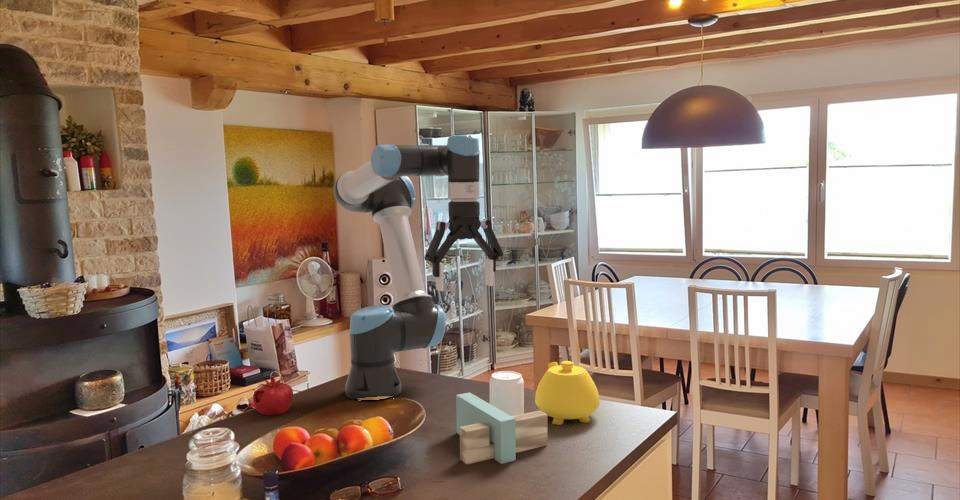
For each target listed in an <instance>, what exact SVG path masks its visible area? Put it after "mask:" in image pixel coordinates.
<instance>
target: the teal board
mask: <svg viewBox="0 0 960 500" xmlns="http://www.w3.org/2000/svg"><path fill="white" fill-rule="evenodd" d="M455 401H456V403H455V407H456V410H455V411H456V413H455V415H456V417H455V418H456V433H457V435H459V436H460V427H462V426H467V425H472V424H477V423H482V422H483V423H484V424H486V425H487V426H489V440H490V441H492V442H493V443H494V452H495V458H494V461H496V462H498V463H499V464H501V465H502V464H507V463H511V462H515V461H517V460H516V455H517V453H516V429H515V418H514V417H512V416H510V415H508V414H507V413H505V412H503V411H501V410H500V409H498V408H496V407H494V406H493V405H491V404H490V402H488V401H485V400H483V399H482V398H480V397H478V396H477V395H475V394H473V393H471V392H465V393H459V394H458V393H457V394H456V395H455Z"/></svg>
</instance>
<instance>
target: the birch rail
mask: <svg viewBox="0 0 960 500" xmlns="http://www.w3.org/2000/svg"><path fill="white" fill-rule="evenodd" d="M512 417H514V418H515V429H516V454H518V453H521V452H526V451H530V450H533V449H538V448H541V447H547V446H548V416H547V414H546V413H544V412H542V411H541V410H540V409H539V410H535V411H530V412H526V413H525V412H524V414H520V415H515V416H512ZM491 459H495V452H494V443H493V442H492V441H490V440H489V426H487V425H486V424H484V423H483V422H482V423H477V424H472V425H467V426H462V427H460V435H459V460H460V461H462V462H463V463H464V464H465V465H472V464H475V463H479V462H483V461H484V462H485V461H488V460H491Z"/></svg>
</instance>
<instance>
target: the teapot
mask: <svg viewBox="0 0 960 500" xmlns="http://www.w3.org/2000/svg"><path fill="white" fill-rule="evenodd" d="M574 363H575V362H574V361H571V360H563V361H560V364H559V363H558V362H557V361H552V362H549V363H548V364H547V366H548V367H547V368H548V369H547V370H546V372H545V373H544V375H543V376H542V377H541V379H540V381H539V383H538V385H537V388H536V392H535V397H534V403H535V405H536V407H537V408H538V409H539V410H540V411H542V412H544V413H546V414H547V417H551V418H553V419H552V422H551V423H552V424H553V425H555V424H556V425H557V426H562V425H563V424H564V423H565V420H578V422H581V423H585V424H586V423H590V422H591V418H589V417H590V416H591V415H593V414H594V413H595V411H597V409H599V406H600V395H599V391H598V388H597V386H596V383H595V381H594V380H593V378H592V377H591V375H590V373H589V372H588V371H587V369H585V368H584V367H583V366H578V365H575V364H574Z"/></svg>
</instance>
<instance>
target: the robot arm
mask: <svg viewBox="0 0 960 500" xmlns="http://www.w3.org/2000/svg"><path fill="white" fill-rule="evenodd" d="M479 145H480V143H479V137H478V136H476V135H474V134H473V135H472V134H471V135H470V134H454V135H450V136H448V137H447V143H446V144H443V145H441V144H440V145H439V144H438V145H437V144H436V145H435V144H422V145H421V144H392V143H387V144H378V145H375V146H374V147H373V150H372V152H371V155H370V160H368V161H367V162H366V163H364V164H362V165H361V166H359V167H358V168H356V169H355V170H349V171H346V172H344V173H342V174H341V175H339V177H337V179H336V180H335V182H334V185H333V195H334V198H335V200H336V201H337V203H338V204H339V205H340V206H341V207H342V208H344V209H345V210H347V211H349V212H352V213H358V214H359V213H365V214H366V213H370V214H371V216H372V220H373V222H374V223H376V224H379V228H380V232H381V237H382V241H383V242H382V243H383V245H384V250H385V256H386V261H387V266H388V269H389V273H390V280H391V283H392V288H393V292H394V296H395V301H394V303H393V304H392V306H391V305H389V304H379V305H377V304H376V305H369V306H366V307H362V308H359V309H357V310H355V311H354V312H353V313H352V314H351V315H350V318H349V329H348V332H349V341H350V343H349V344H350V346H349V347H350V369H349V372H348V376H347V380H346V383H345V386H344V387H345V388H344V391H345V393H344V394H345V396H346V397H347V398H349V399H350V400H354V399H357V398H365V397H377V396H394V397H393V398H395V397H397V396H398V395H400V394H401V393H402V382H401V379H400V376H399V374H398V371H397V368H396V365H395V353H399V352H406V351H412V350H419V349H427V348H429V347H435V346H436V347H437V345H439V344H440V343H441V342H442V340H443V338H444V335H445V331H446V314H445V311H444V308H442V306H441V305H440V304H437V303H436V304H435V303H434V300H433V296H431V295H430V294H428V293H427V292H426V288H425V285H424V281H423V277H422V272H421V268H420V264H419V260H418V255H417V250H416V247H415V242H414V238H413V235H412V230H411V226H410V222H409V217H410V216H411V214H412V210H413V209H414V207H415V205H416V198H415V197H416V191H415V187H414V184H413V182H412V180H411V178H410V177H418V176H419V177H423V176H424V177H426V176H427V177H428V176H429V177H430V176H431V177H439V176H440V177H443V176H447V187H448V188H447V192H448V193H447V194H448V195H447V197H448V198H447V199H449V200H450V201H449V202H448V209H447V210H448V211H447V212H448V222H446V221H442V220H441V221H439V220H438V221H436V227H435V231H434V234H433V236H432V239H431V242H430V244H429V247H428V248H427V250H426V253H425V255H424V260H425V261H426V262H430V263H431V267H432V269H431V271H432V273H431V274H432V277H434V278H435V290H436V291H439V292H444V291H445V289H444V287H445V285H444V283H445V282H444V279H445V278H444V263H441V262H442V260H443V259H444V258H445V256H446V254H447V253H448V252H449V251H450V249H451V248H452V246H453V245H454V244H455V242H458V240H465V239H468V240H472V239H473V240H474V242H475V243H476V244H477V246H478V247H479V248H480V249H481V250H482V252H483V253H484V254H485V255H486V256H487V258H485V259H484V270H485V271H484V276H485V277H484V279H485V280H484V282H485V283H484V284H485V286H489V287H493V286H494V273H496V271H497V260H498V259H499V257H502V256H503V255H504V251H503V250H502V247H501V245H500V243H499V241H498V239H497V237H496V234H495V232H494V230H493V227H492V220H491V219H487V218H485V219H484V218H483V219H482V220H480V213H481V212H480V210H481V209H480V207H481V204H480V202H479V201H478V199H480V154H481V152H480V146H479ZM480 227H481V229H482V230H483V233H484V235H485V237H486V239H487V241H488V243H489V244H488V243H487V242H486V239H484V238H483V235H482V233H480V231H479V229H480ZM448 229H449V231H450V232H449V233H448V234H447V236H446V238H445V240H444V241H443V242H442V240H443V237H444V235H445V232H446V231H447V230H448ZM441 243H442V244H441Z"/></svg>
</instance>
